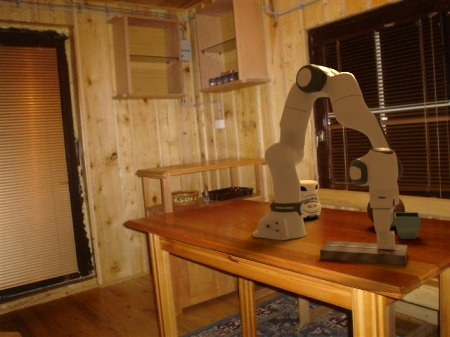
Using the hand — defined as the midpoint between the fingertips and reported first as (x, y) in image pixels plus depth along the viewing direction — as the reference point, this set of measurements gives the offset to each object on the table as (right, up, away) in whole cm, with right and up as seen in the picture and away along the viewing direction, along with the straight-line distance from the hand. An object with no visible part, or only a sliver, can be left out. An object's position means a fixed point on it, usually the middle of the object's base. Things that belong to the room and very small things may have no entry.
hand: (385, 240), depth 132 cm
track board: (-6, -6, +4) cm, 9 cm away
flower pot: (+18, -3, +23) cm, 29 cm away
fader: (0, -2, 0) cm, 2 cm away
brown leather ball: (+17, -2, +41) cm, 45 cm away
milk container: (-13, -2, +72) cm, 73 cm away
